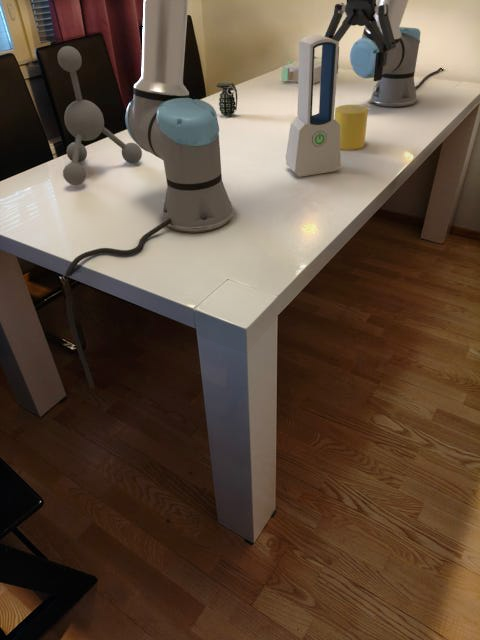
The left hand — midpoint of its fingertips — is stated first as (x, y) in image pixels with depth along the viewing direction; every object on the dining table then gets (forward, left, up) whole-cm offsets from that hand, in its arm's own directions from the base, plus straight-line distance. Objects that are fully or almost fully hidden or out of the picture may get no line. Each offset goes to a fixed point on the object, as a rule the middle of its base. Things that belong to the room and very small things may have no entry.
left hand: (354, 77), depth 129 cm
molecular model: (-42, +56, -18) cm, 72 cm away
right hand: (+48, +37, +23) cm, 65 cm away
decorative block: (+75, +43, -18) cm, 88 cm away
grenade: (+15, +48, -18) cm, 53 cm away
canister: (0, 0, -18) cm, 18 cm away
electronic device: (-22, +3, -18) cm, 28 cm away
